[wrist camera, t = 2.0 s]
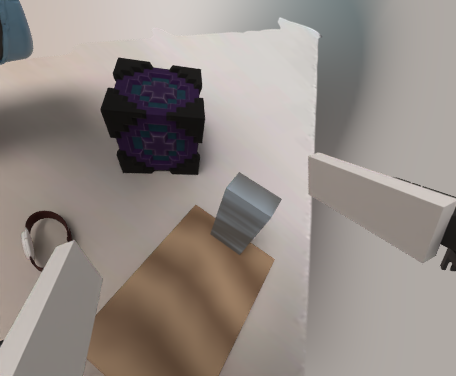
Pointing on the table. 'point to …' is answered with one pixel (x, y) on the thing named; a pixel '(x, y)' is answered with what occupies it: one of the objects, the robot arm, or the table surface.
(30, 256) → the watch
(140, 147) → the energy cube
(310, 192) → the robot arm
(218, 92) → the table surface
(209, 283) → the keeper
